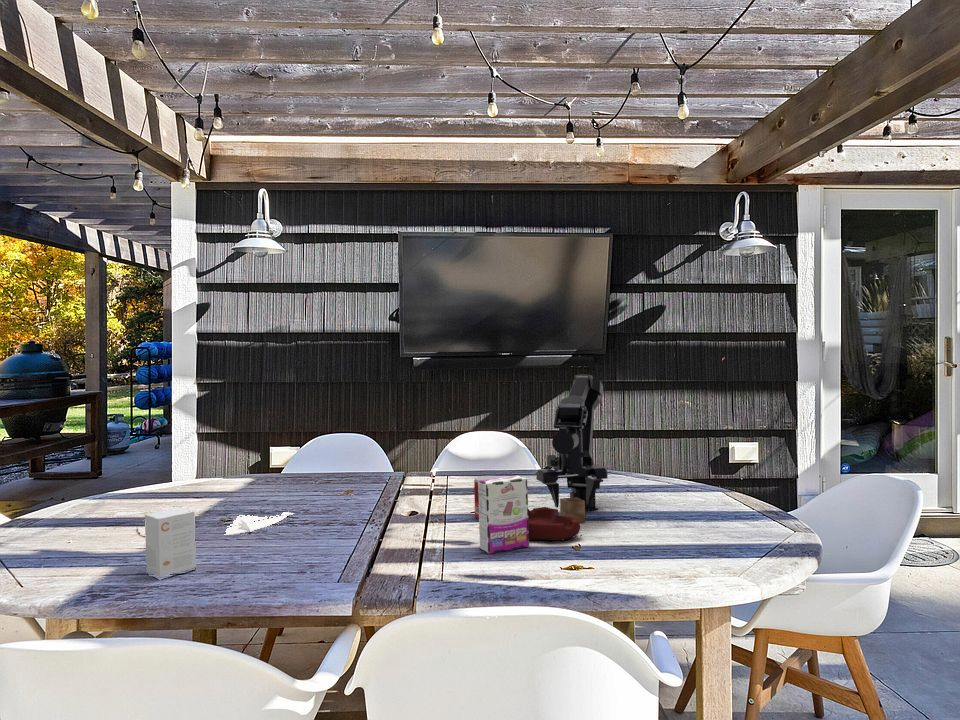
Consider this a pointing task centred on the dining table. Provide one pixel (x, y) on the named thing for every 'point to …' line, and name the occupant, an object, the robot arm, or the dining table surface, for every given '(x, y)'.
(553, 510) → the ashtray
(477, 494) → the canned food
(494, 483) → the candy bar box
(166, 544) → the small box
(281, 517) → the white flat piece
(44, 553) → the dining table surface
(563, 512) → the walnut block
